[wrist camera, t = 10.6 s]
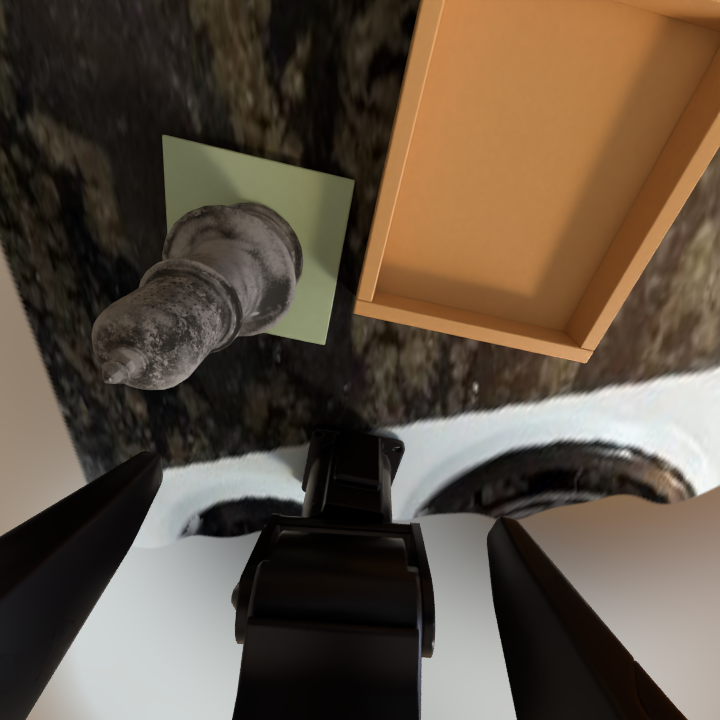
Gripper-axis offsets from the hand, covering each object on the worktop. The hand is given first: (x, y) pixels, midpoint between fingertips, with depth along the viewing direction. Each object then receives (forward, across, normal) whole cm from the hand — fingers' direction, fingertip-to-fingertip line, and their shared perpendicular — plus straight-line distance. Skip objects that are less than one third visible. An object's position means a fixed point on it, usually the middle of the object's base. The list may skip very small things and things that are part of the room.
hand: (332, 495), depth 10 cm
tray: (+13, -6, -8) cm, 16 cm away
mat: (+13, +6, -2) cm, 14 cm away
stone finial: (+13, +6, -2) cm, 14 cm away
